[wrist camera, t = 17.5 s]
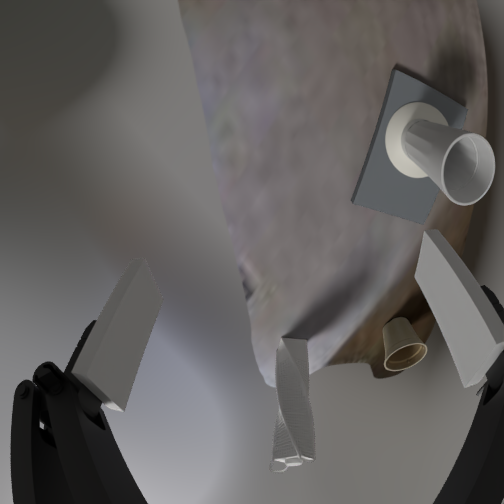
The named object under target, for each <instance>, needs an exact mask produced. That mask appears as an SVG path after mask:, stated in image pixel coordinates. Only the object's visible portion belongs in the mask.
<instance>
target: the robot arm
mask: <svg viewBox="0 0 504 504" xmlns="http://www.w3.org/2000/svg"><path fill="white" fill-rule="evenodd" d="M415 279H416V281H417V282H418V284H419V286H420V288H421V290H422V292H423V294H424V296H425V298H426V300H427V302H428V304H429V306H430V308H431V310H432V312H433V314H434V316H435V318H436V320H437V323H438V325H439V327H440V329H441V331H442V333H443V336H444V338H445V340H446V343H447V345H448V347H449V349H450V352H451V354H452V357H453V359H454V362H455V365H456V367H457V370H458V372H459V375H460V378H461V380H462V383H463V386H464V388H466V387H468V386H471V385H474V384H476V383H479V381H480V380H481V379H482V378H483V377H484V375H485V374H486V377H487V379H488V380H487V382H486V383H485V384H484V385H483V386H482V387H481V389H480V390H479V391H478V392H477V394H476V395H477V396H478V395H479V394H480V393H481V392H482V391H483V392H482V396H481V399H480V402H479V405H478V408H477V411H476V414H475V417H474V420H473V422H472V425H471V428H470V430H469V433H468V435H467V438H466V440H465V443H464V445H463V447H462V449H461V452H460V454H459V456H458V458H457V460H456V462H455V465H454V467H453V469H452V471H451V472H450V474H449V477H448V478H447V480H446V482H445V484H444V486H443V487H442V490H441V491H440V493H439V494H438V496H437V498H436V499H435V501H434V503H433V504H501V503H502V500H503V498H504V308H503V307H502V305H501V304H499V300H498V299H497V297H496V296H495V294H494V293H493V292H492V291H491V290H490V289H489V288H487V287H486V286H485V285H483V286H479V284H478V283H477V281H476V280H475V278H474V277H473V275H472V274H471V273H470V271H469V270H468V268H467V267H466V265H465V264H464V263H463V262H462V260H461V259H460V257H459V256H458V255H457V253H456V252H455V251H454V249H453V248H452V247H451V246H450V244H449V243H448V242H447V240H446V239H445V238H444V237H443V236H442V234H441V233H440V232H439V231H438V229H436V230H425V231H424V235H423V240H422V245H421V250H420V255H419V260H418V264H417V269H416V273H415ZM162 303H163V297H162V295H161V293H160V291H159V289H158V286H157V284H156V282H155V280H154V278H153V275H152V273H151V271H150V269H149V266H148V264H147V262H146V260H145V258H139V259H132V260H131V261H130V263H129V265H128V267H127V268H126V270H125V271H124V273H123V275H122V276H121V278H120V280H119V281H118V283H117V285H116V287H115V288H114V290H113V292H112V294H111V295H110V297H109V299H108V301H107V303H106V304H105V306H104V308H103V310H102V312H101V314H100V315H99V317H98V319H97V320H93V321H92V322H91V323H90V325H89V326H88V327H87V328H86V329H85V331H84V333H83V335H82V337H81V340H79V342H78V344H77V347H76V348H75V351H74V352H73V354H72V357H71V359H70V361H69V363H68V365H67V367H66V369H65V371H64V373H63V372H62V371H61V370H60V369H59V368H58V367H57V366H56V365H55V364H54V363H53V362H45V363H42V364H41V365H40V366H38V368H37V369H36V370H35V372H34V375H33V382H32V381H30V380H24V381H22V382H21V383H20V384H19V385H18V386H17V388H16V390H15V395H14V402H13V413H12V425H11V481H12V493H13V502H14V504H148V503H147V501H146V500H145V498H144V497H143V495H142V493H141V491H140V489H139V488H138V486H137V484H136V482H135V480H134V478H133V476H132V475H131V473H130V471H129V469H128V467H127V465H126V463H125V461H124V459H123V457H122V454H121V452H120V450H119V448H118V445H117V443H116V441H115V439H114V436H113V434H112V431H111V429H110V427H109V424H108V422H107V419H106V417H105V414H104V412H103V410H102V409H101V408H100V407H101V404H102V402H103V403H104V404H105V405H106V406H107V407H108V408H109V409H113V410H118V411H123V412H124V411H125V408H126V405H127V401H128V398H129V395H130V392H131V389H132V386H133V383H134V380H135V377H136V374H137V371H138V368H139V365H140V362H141V359H142V357H143V354H144V351H145V348H146V345H147V343H148V340H149V337H150V334H151V332H152V329H153V326H154V323H155V321H156V318H157V316H158V313H159V310H160V308H161V305H162ZM34 383H35V384H34ZM36 385H37V386H36ZM40 422H42V423H43V424H44V429H42V428H40Z"/></svg>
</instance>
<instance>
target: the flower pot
mask: <svg viewBox="0 0 504 504" xmlns="http://www.w3.org/2000/svg"><path fill="white" fill-rule="evenodd" d="M383 337H384V344H385V353H386V355H385V361H384V366H385V368H386V369H387V370H391V371H398V370H403V369H407V368H409V367H411V366H413V365H415V364H417V363H418V362H419V361H420V360H422V359H423V357H424V356H425V355H426V353H427V346H426V345H425V344H424V343H423V342H422V341H421V340H420V339H419V338H418V336H417V334H416V333H415V331H414V329H413V328H412V326H411V324H410V323H409V321H408V320H407V319H406V318H404V317H398V318H394V319H392V320H391V321H390V322H389V323H386V324H385V326H384V327H383Z"/></svg>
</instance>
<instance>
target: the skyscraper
mask: <svg viewBox="0 0 504 504" xmlns="http://www.w3.org/2000/svg"><path fill="white" fill-rule="evenodd" d="M275 380H276V392H277V398H278V403H279V411H278V414H277V419H276V424H275V430H274V437H273V447H272V460H271V463H270V467H269V470H270V471H271V472H273V473H283V472H285V471H286V470H287V468H288V466H297V465H301V464H302V461H306V462H314V461H315V433H314V422H313V415H312V410H311V405H310V401H309V363H308V349H307V340H305V339H291V338H283V337H281V341H280V344H279V348H278V350H277V351H276V368H275ZM274 460H276V461H280V462H284V463H285V465H286V467H285V469H284V470H281V471H274V470H272V469H271V467H272V464H273V461H274Z"/></svg>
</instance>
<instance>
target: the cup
mask: <svg viewBox="0 0 504 504" xmlns="http://www.w3.org/2000/svg"><path fill="white" fill-rule="evenodd" d="M401 146H402V149H403V152H404V153H405V155H406V156H407V157H408V158H409V159H410V160H412V161H413V162H414V163H415V164H416V165H417V166H418V167H419V168H421V169H422V170H423V171H424V172H425V173H426V174H427V175H428V176H429V177H430V178H431V179H432V180H433V181H434V182H435V183H436V184H437V186H438V187H439V188H440V189H441V190H442V191H443V192H444V193H445V194H446V196H447V197H448V198H449V199H450V200H451V201H452V202H454V203H456V204H458V205H470V204H473V203H475V202H477V201H478V200H480V199H481V198H482V197H483V196H484V195H485V193H486V192H487V191H488V189H489V187H490V185H491V183H492V180H493V177H494V172H495V158H494V154H493V151H492V148H491V146H490V144H489V143H488V142H487V140H486V139H485V138H484V137H482V136H481V135H479V134H476V133H472V132H469V131H465V130H462V129H457V128H453V127H450V126H446V125H442V124H438V123H434V122H430V121H428V120H425V119H414V120H412V121H410V122H409V123H408V124H407V125H406V126H405V127H404V129H403V131H402V135H401Z"/></svg>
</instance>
